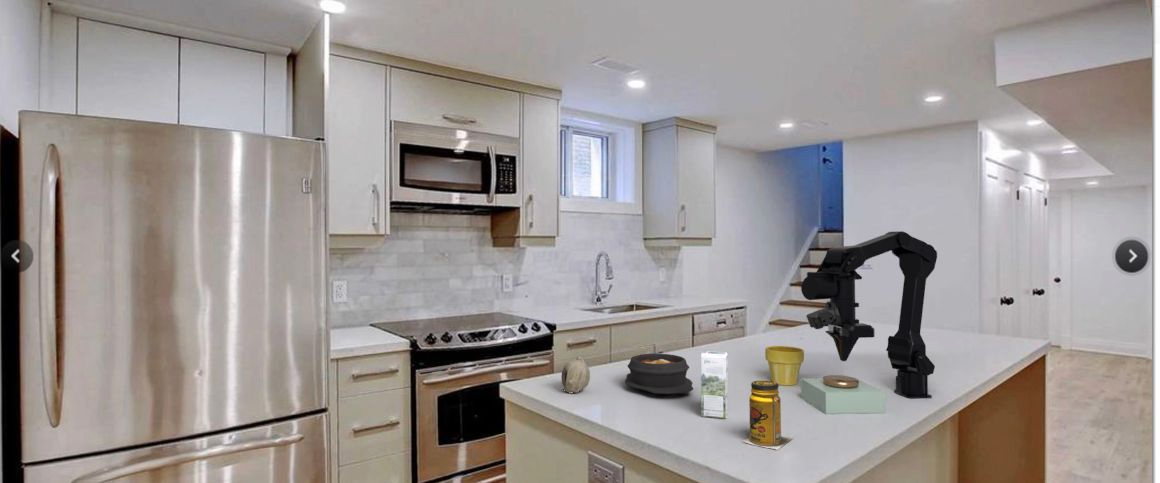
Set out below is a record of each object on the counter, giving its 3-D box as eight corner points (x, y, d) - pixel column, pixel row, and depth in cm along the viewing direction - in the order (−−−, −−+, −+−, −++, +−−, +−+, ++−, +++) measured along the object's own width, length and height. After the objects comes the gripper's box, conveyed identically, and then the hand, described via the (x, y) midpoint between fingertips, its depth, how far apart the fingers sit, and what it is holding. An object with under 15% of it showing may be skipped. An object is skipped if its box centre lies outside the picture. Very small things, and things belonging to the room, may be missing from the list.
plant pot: (798, 378, 170) (798, 345, 170) (808, 387, 160) (808, 352, 160) (762, 378, 171) (761, 345, 171) (770, 387, 161) (769, 351, 161)
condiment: (741, 442, 117) (741, 383, 117) (758, 432, 123) (758, 375, 123) (777, 451, 112) (776, 389, 112) (793, 439, 119) (792, 380, 119)
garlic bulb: (573, 396, 162) (574, 360, 165) (597, 395, 157) (599, 358, 161) (551, 392, 155) (554, 355, 158) (576, 391, 150) (578, 353, 154)
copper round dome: (848, 395, 147) (848, 375, 147) (865, 404, 139) (865, 382, 139) (817, 396, 146) (817, 375, 146) (832, 404, 138) (832, 383, 138)
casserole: (710, 397, 150) (709, 365, 150) (642, 403, 146) (642, 370, 146) (671, 376, 175) (670, 348, 175) (612, 380, 170) (612, 352, 170)
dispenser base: (854, 397, 150) (854, 377, 150) (884, 413, 136) (884, 391, 136) (801, 397, 149) (800, 378, 149) (826, 414, 135) (825, 392, 135)
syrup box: (728, 412, 137) (727, 351, 137) (726, 419, 132) (725, 356, 132) (703, 410, 139) (703, 349, 139) (700, 417, 134) (700, 354, 134)
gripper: (795, 295, 153) (796, 354, 153) (828, 302, 134) (829, 370, 134) (836, 294, 153) (837, 353, 153) (875, 301, 135) (876, 368, 135)
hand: (843, 360), depth 144 cm, fingers closed
